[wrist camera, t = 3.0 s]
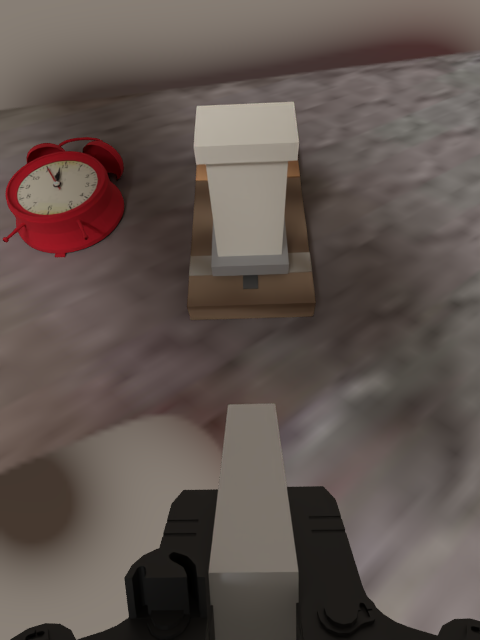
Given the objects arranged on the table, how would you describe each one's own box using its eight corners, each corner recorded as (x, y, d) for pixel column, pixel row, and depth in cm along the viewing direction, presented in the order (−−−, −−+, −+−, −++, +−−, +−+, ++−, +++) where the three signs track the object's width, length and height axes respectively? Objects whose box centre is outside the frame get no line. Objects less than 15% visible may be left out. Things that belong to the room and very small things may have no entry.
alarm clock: (-20, 240, 35) (8, 101, 40) (20, 271, 41) (41, 148, 45) (102, 236, 34) (115, 96, 39) (124, 268, 40) (134, 144, 45)
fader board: (312, 316, 34) (316, 302, 32) (190, 320, 34) (186, 305, 32) (291, 134, 46) (292, 116, 44) (202, 138, 46) (199, 121, 45)
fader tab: (288, 273, 33) (299, 148, 23) (212, 276, 33) (193, 152, 23) (283, 227, 35) (293, 97, 26) (214, 230, 36) (197, 101, 26)
